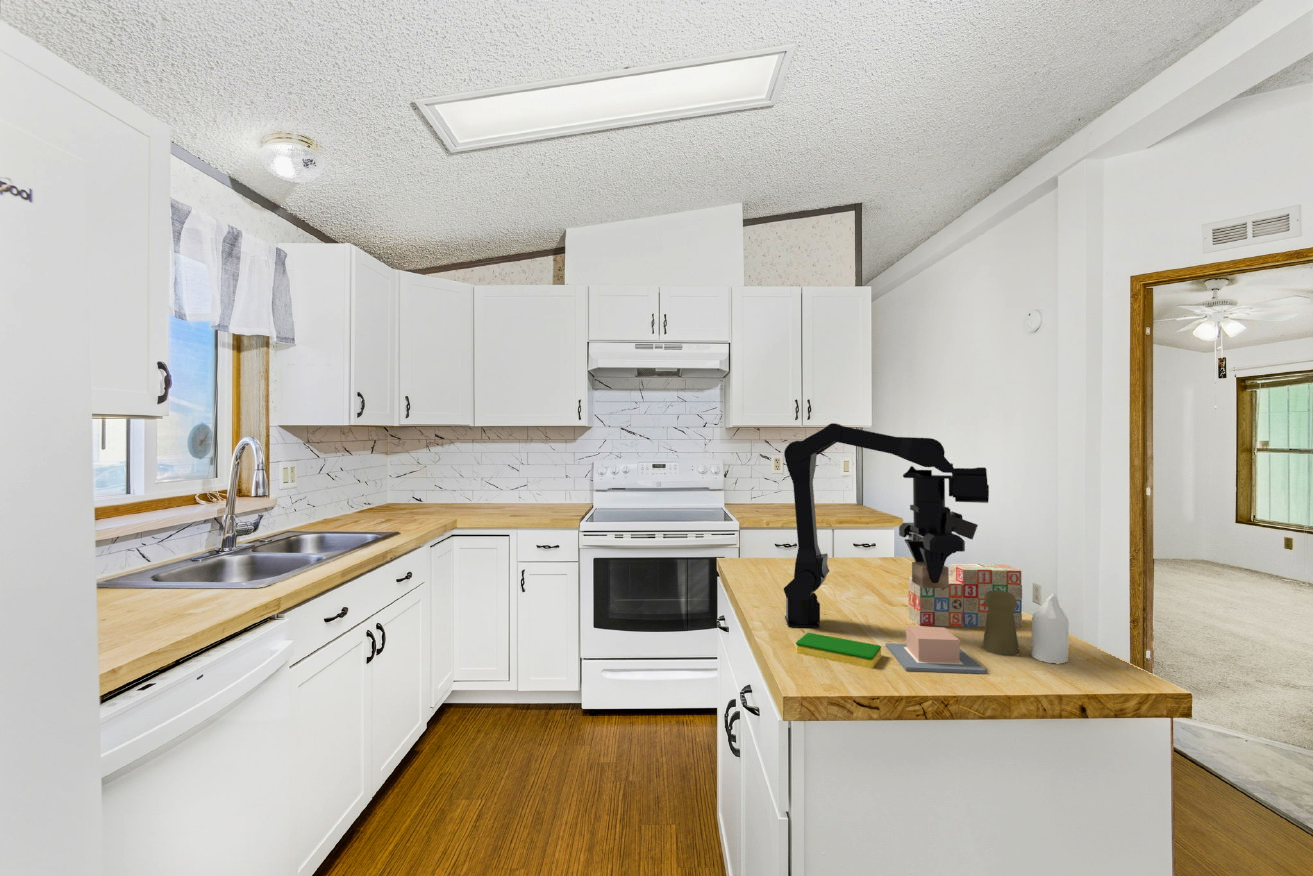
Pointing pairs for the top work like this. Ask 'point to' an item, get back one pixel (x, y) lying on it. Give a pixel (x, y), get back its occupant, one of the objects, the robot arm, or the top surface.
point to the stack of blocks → (964, 596)
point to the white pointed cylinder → (1050, 632)
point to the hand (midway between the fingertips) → (929, 579)
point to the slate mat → (914, 665)
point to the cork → (1000, 624)
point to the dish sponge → (839, 650)
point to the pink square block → (932, 644)
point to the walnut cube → (923, 578)
